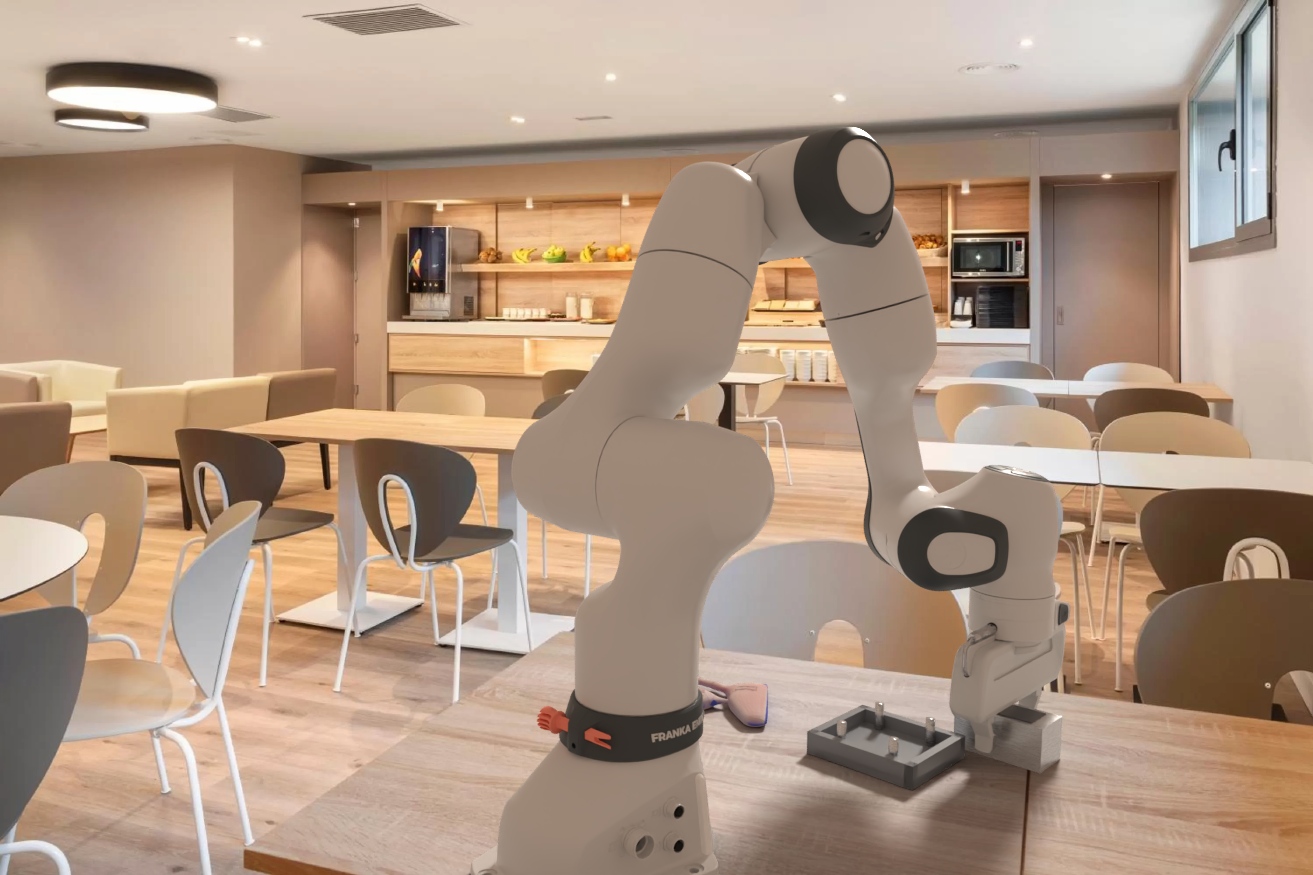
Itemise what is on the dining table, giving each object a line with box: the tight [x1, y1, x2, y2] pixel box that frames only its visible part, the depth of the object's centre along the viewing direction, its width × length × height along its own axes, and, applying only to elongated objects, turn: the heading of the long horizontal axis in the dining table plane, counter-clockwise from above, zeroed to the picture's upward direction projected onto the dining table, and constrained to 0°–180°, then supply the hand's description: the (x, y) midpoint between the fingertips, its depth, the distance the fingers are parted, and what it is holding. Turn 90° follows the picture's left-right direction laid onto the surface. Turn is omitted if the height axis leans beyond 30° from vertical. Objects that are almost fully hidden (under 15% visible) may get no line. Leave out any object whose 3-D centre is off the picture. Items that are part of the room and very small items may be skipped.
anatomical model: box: [698, 675, 769, 728], centre depth 131 cm, size 20×3×15 cm
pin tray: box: [806, 701, 966, 791], centre depth 115 cm, size 11×13×4 cm
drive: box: [953, 703, 1063, 774], centre depth 116 cm, size 5×10×5 cm, turn 46°
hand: (1005, 737), depth 116 cm, fingers open, 8 cm apart
